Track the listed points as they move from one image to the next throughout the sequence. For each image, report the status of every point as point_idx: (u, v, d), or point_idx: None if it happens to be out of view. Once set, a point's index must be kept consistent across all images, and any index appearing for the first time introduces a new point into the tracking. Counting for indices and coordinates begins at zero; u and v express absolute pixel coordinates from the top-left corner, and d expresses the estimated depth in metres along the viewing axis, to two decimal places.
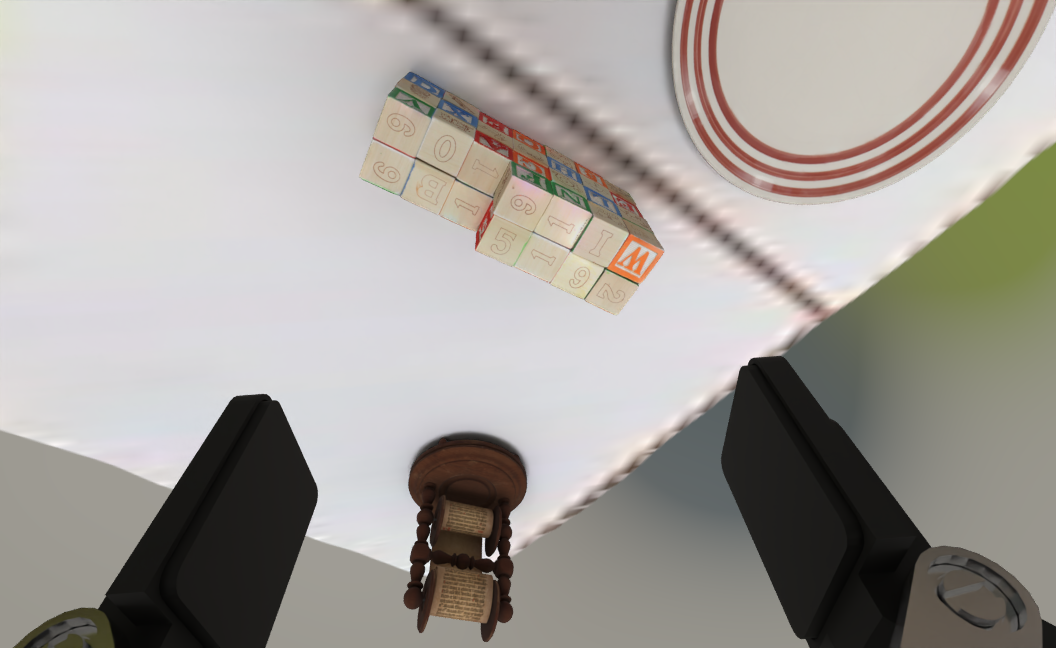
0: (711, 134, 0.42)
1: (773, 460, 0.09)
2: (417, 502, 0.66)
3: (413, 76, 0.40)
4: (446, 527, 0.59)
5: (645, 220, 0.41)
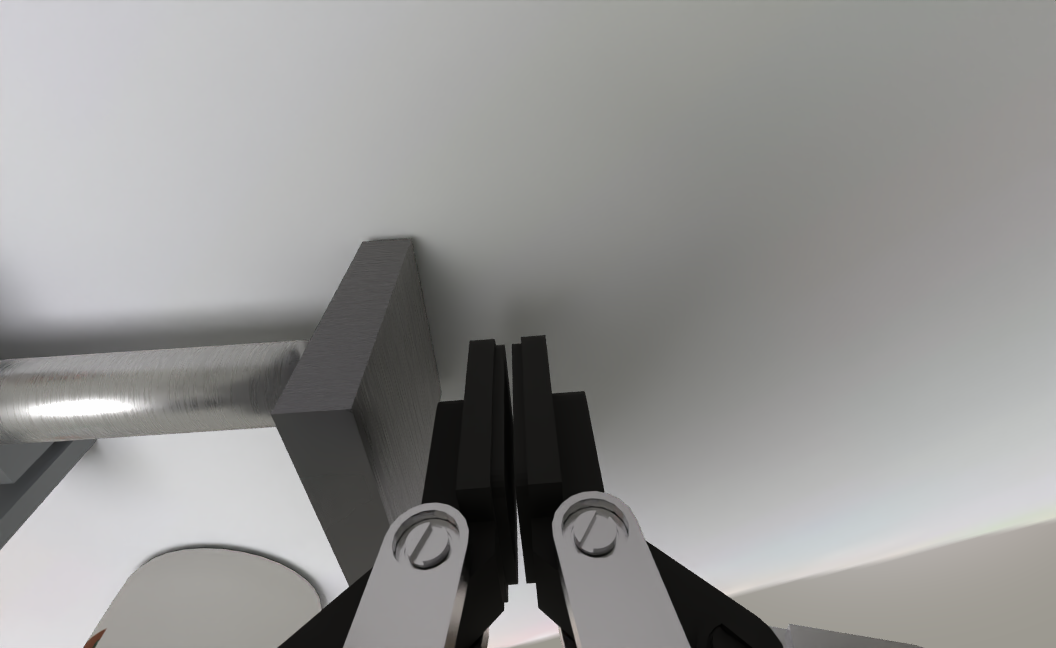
0: None
1: None
2: None
3: None
4: None
5: None
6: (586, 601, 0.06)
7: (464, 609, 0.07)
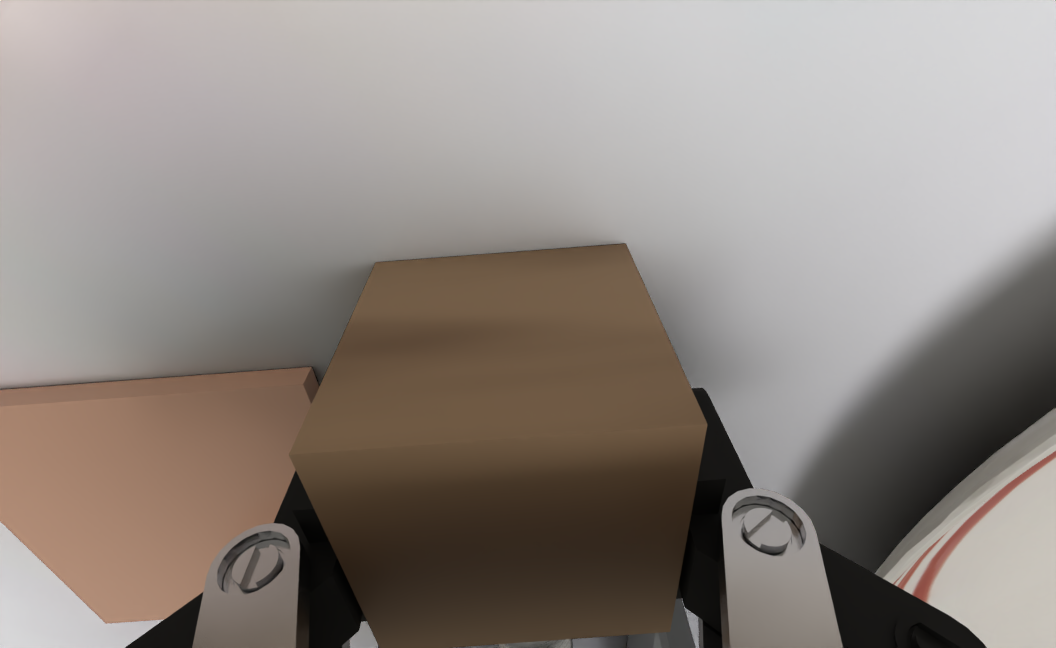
0: None
1: None
2: None
3: None
4: None
5: None
6: (743, 587, 0.06)
7: (314, 616, 0.08)
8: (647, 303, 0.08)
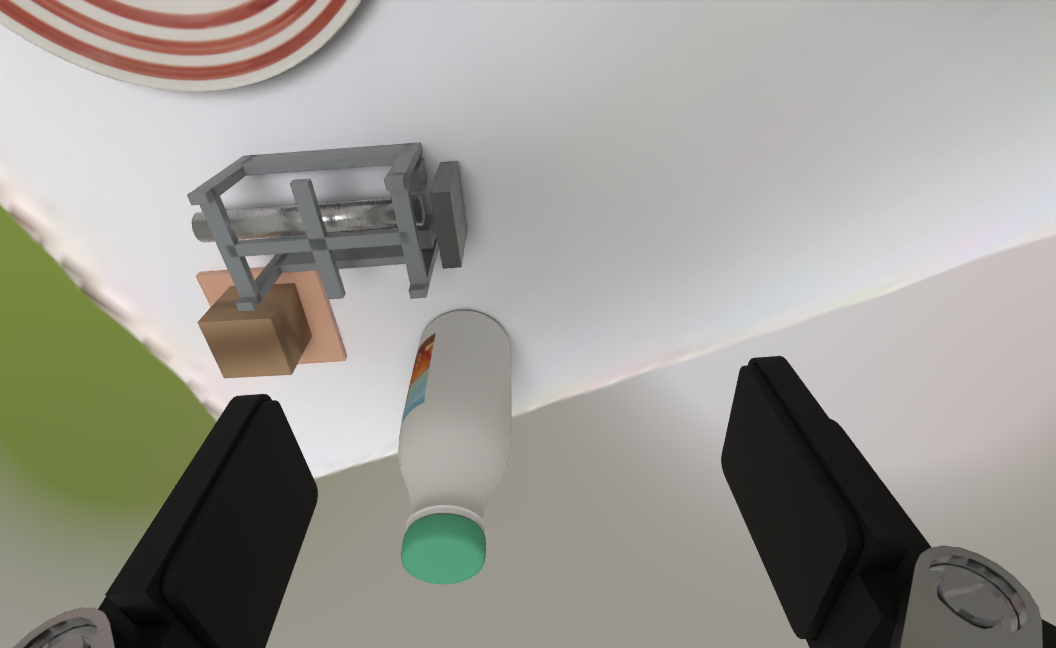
0: None
1: (773, 460, 0.09)
2: None
3: None
4: None
5: None
6: (924, 640, 0.06)
7: None
8: (283, 298, 0.38)
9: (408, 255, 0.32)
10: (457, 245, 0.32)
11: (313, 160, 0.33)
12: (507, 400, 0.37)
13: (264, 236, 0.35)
